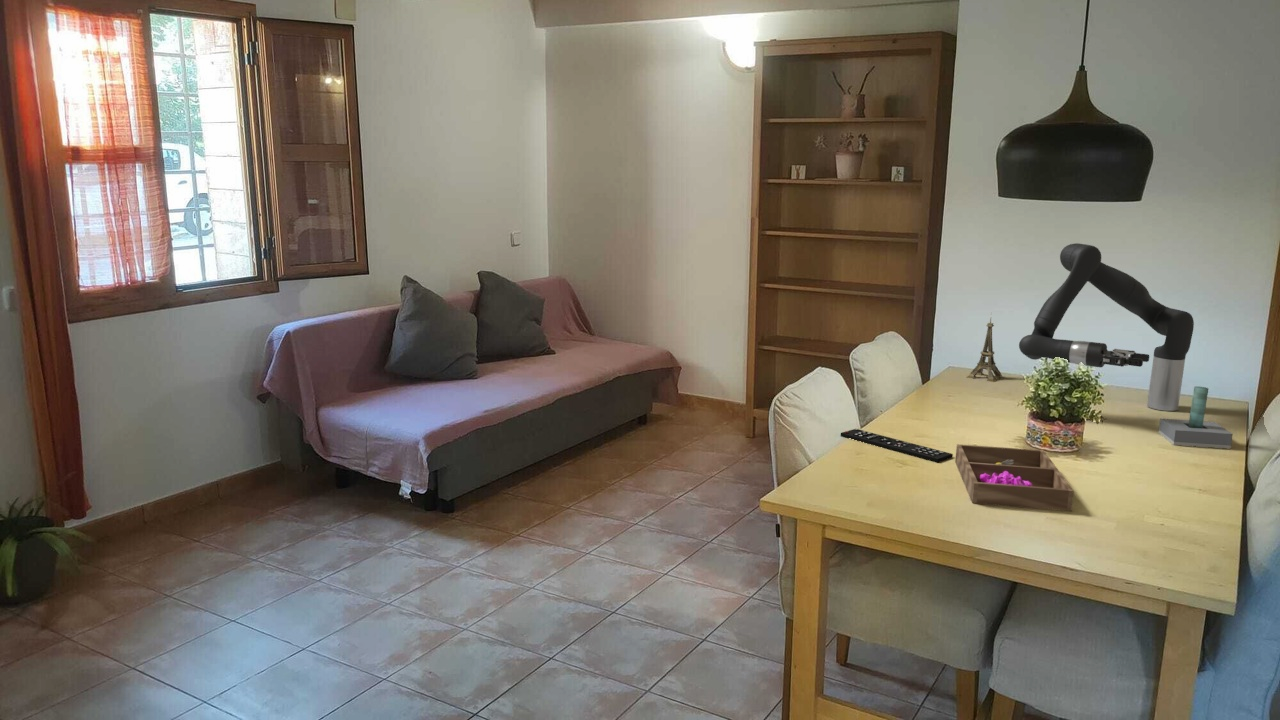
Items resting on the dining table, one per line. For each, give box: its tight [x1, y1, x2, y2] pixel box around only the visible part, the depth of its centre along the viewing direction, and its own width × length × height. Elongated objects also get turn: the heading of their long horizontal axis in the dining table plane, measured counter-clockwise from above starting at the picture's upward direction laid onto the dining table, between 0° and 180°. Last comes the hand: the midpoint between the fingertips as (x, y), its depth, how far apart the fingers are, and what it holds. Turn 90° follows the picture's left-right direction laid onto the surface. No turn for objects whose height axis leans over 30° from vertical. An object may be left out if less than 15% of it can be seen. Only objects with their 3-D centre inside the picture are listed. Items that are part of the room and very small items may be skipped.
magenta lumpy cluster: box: [980, 471, 1032, 486], centre depth 225 cm, size 12×10×7 cm
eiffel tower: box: [966, 312, 1005, 383], centre depth 352 cm, size 11×11×25 cm
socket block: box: [1158, 418, 1233, 450], centre depth 276 cm, size 13×15×4 cm
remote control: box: [840, 428, 954, 464], centre depth 265 cm, size 8×32×2 cm, turn 42°
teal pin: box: [1188, 385, 1209, 428], centre depth 274 cm, size 4×4×15 cm
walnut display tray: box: [954, 443, 1075, 512], centre depth 234 cm, size 32×22×5 cm
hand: (1145, 360), depth 281 cm, fingers open, 8 cm apart
